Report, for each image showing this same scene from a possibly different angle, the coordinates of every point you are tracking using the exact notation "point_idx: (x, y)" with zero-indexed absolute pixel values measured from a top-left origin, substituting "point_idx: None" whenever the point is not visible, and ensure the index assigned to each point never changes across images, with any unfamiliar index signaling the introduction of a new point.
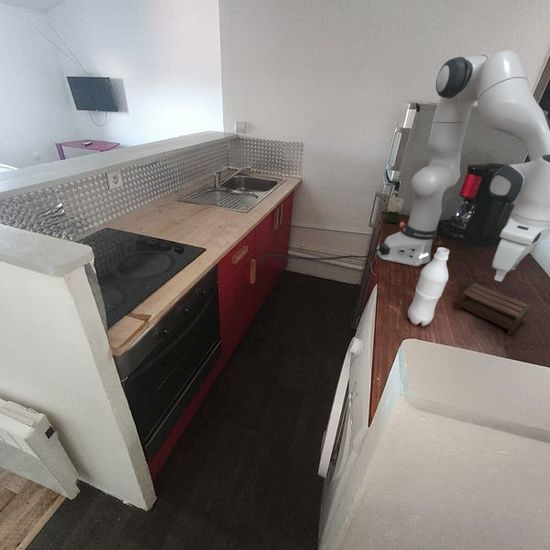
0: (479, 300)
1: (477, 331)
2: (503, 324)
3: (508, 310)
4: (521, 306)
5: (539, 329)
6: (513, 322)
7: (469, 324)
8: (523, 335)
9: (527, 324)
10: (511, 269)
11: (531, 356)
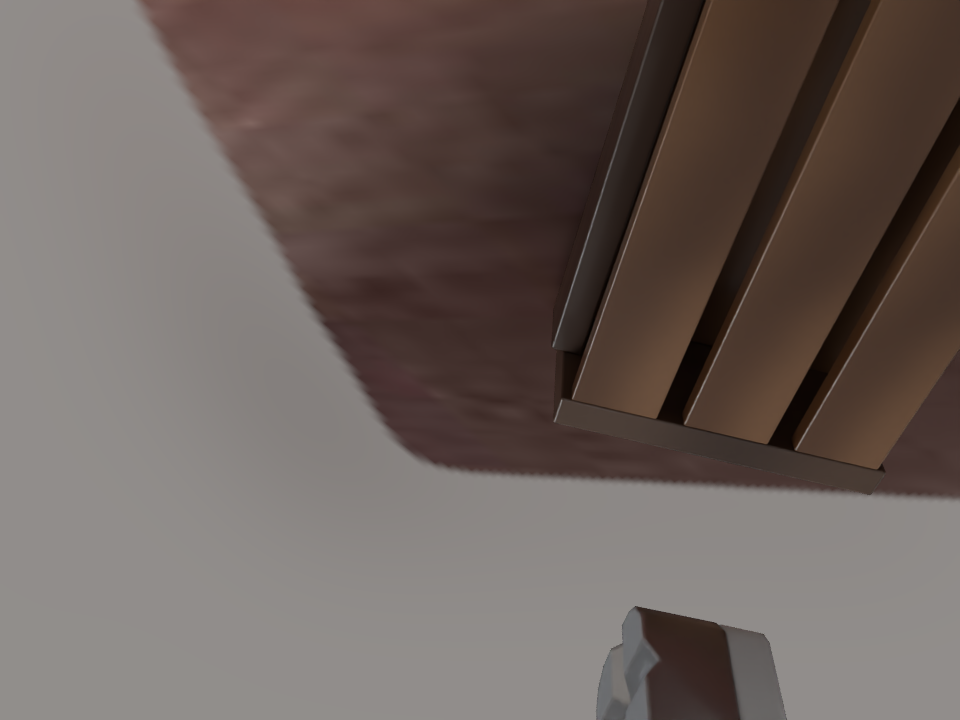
0: (687, 58)
1: (426, 87)
2: (566, 280)
3: (635, 341)
4: (803, 432)
5: None
6: (563, 358)
7: (490, 3)
8: None
9: None
10: (603, 669)
11: (401, 414)
